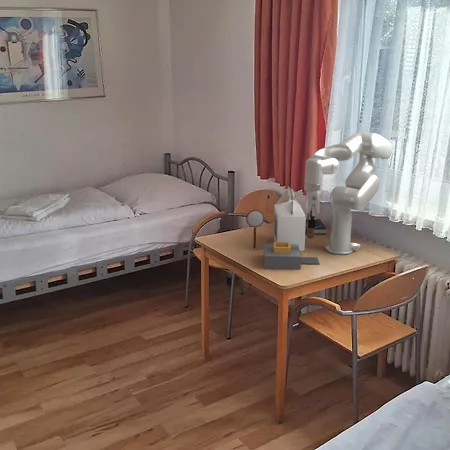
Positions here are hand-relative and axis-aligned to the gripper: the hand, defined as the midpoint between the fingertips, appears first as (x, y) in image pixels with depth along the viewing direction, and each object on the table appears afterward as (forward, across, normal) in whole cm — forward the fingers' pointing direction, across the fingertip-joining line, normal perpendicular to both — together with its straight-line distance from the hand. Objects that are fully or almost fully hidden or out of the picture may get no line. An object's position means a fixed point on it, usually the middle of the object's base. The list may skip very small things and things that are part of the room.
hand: (310, 226), depth 245 cm
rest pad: (+17, 0, 0) cm, 17 cm away
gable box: (+17, +24, +8) cm, 31 cm away
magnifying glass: (+17, +15, +25) cm, 34 cm away
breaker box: (+17, -2, +13) cm, 21 cm away
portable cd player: (+17, +47, -4) cm, 51 cm away
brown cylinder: (+5, 0, 0) cm, 5 cm away
